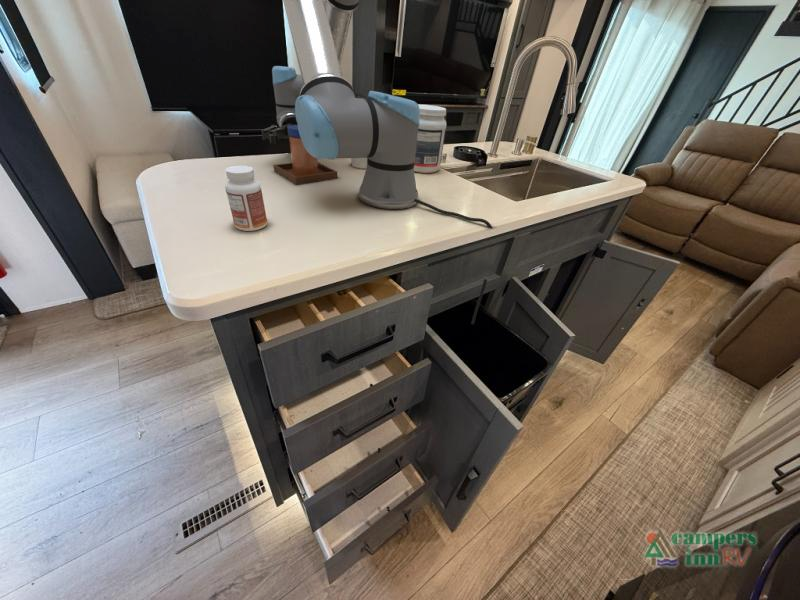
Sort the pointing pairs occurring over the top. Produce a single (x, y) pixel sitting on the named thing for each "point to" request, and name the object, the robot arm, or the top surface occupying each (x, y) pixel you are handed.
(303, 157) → the jar
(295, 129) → the jar lid
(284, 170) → the tray
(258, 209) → the pill bottle
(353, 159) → the white cup
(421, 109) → the supplement tub
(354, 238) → the top surface
